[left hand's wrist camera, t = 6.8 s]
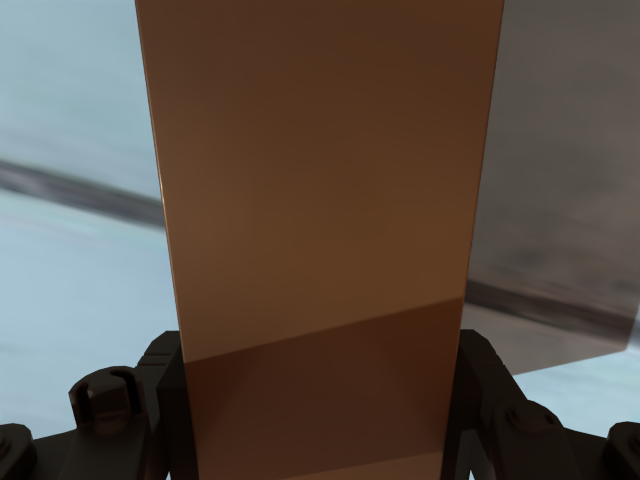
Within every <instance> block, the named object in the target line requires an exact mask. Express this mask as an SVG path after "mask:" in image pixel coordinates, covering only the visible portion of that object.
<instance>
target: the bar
mask: <svg viewBox="0 0 640 480" xmlns="http://www.w3.org/2000/svg"><path fill="white" fill-rule="evenodd" d="M135 7H136V14H137V21H138V29H139V36H140V44H141V51H142V58H143V66H144V73H145V81H146V88H147V95H148V103H149V110H150V117H151V125H152V132H153V140H154V147H155V154H156V162H157V169H158V177H159V184H160V191H161V199H162V206H163V214H164V221H165V228H166V236H167V243H168V251H169V258H170V265H171V273H172V280H173V287H174V295H175V302H176V310H177V317H178V324H179V332H180V339H181V347H182V354H183V361H184V369H185V376H186V384H187V391H188V398H189V406H190V413H191V420H192V428H193V435H194V443H195V450H196V457H197V465H198V472H199V480H440V476H441V469H442V461H443V454H444V446H445V439H446V431H447V424H448V416H449V409H450V402H451V394H452V387H453V379H454V372H455V364H456V357H457V350H458V342H459V335H460V327H461V320H462V312H463V305H464V298H465V290H466V283H467V275H468V268H469V260H470V253H471V245H472V238H473V231H474V223H475V216H476V208H477V201H478V193H479V186H480V179H481V171H482V164H483V156H484V149H485V141H486V134H487V127H488V119H489V112H490V104H491V97H492V89H493V82H494V74H495V67H496V60H497V52H498V45H499V37H500V30H501V22H502V15H503V8H504V0H135Z"/></svg>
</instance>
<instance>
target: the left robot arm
mask: <svg viewBox="0 0 640 480" xmlns="http://www.w3.org/2000/svg"><path fill="white" fill-rule="evenodd" d="M68 394H69V398H70V402H71V406H72V409H73V413H74V417H75V421H76V425H77V428H76V429H74V430H71V431H68V432H65V433H60V434H56V435H52V436H48V437H43V438H39V439H35V440H33V437H32V434H31V431H30V430H29V429H28V428H27V427H26V426H25V425H21V424H15V423H11V424H4V425H0V480H166V478H167V475H168V473H169V472H170V478H171V480H199V472H198V465H197V457H196V450H195V443H194V435H193V428H192V420H191V413H190V406H189V398H188V391H187V384H186V376H185V369H184V361H183V354H182V347H181V339H180V332H179V331H165V332H164V333H163V334H161V335H160V336H159V337H157V338H156V339H155V340H153V341H152V342H151V344H150V345H149V347H148V348H147V350H146V351H145V353H144V356H142V357H141V359H140V360H139V362H138V363H137V366H135V368H131V367H128V366H112V367H108V368H104V369H100V370H97V371H95V372H93V373H91V374H89V375H86V376H85V377H83V378H82V379H81V380H79V381H78V382H77V383H75V384H74V386H73V387H72V388H71V390H70V391H69V393H68ZM470 470H471V472H472V474H473V477H474V479H475V480H640V423H635V422H628V421H627V422H620V423H616V424H615V425H613V426H612V427H611V428H610V430H609V433H608V436H607V438H604V437H600V436H595V435H591V434H587V433H583V432H578V431H574V430H571V429H568V428H565V427H563V425H562V424H561V422H560V420H559V419H558V417H557V416H556V415H555V414H553V413H552V412H551V411H550V410H549V409H547V408H546V407H544V406H542V405H540V404H538V403H536V402H534V401H531V400H527V398H526V397H525V395H524V394H523V392H522V391H521V389H520V388H519V386H518V385H517V383H516V382H515V380H514V379H513V377H512V376H511V374H510V373H509V371H508V370H507V368H506V366H505V365H503V362H502V360H501V359H500V357H499V356H498V354H496V351H495V350H494V348H493V347H492V345H491V344H490V342H489V341H488V340H487V339H486V338H485V337H483V336H482V335H480V334H479V333H478V332H476V331H475V330H474V329H460V335H459V342H458V350H457V357H456V364H455V372H454V379H453V387H452V394H451V402H450V409H449V416H448V424H447V431H446V439H445V446H444V454H443V461H442V469H441V476H440V480H469V476H470Z"/></svg>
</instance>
